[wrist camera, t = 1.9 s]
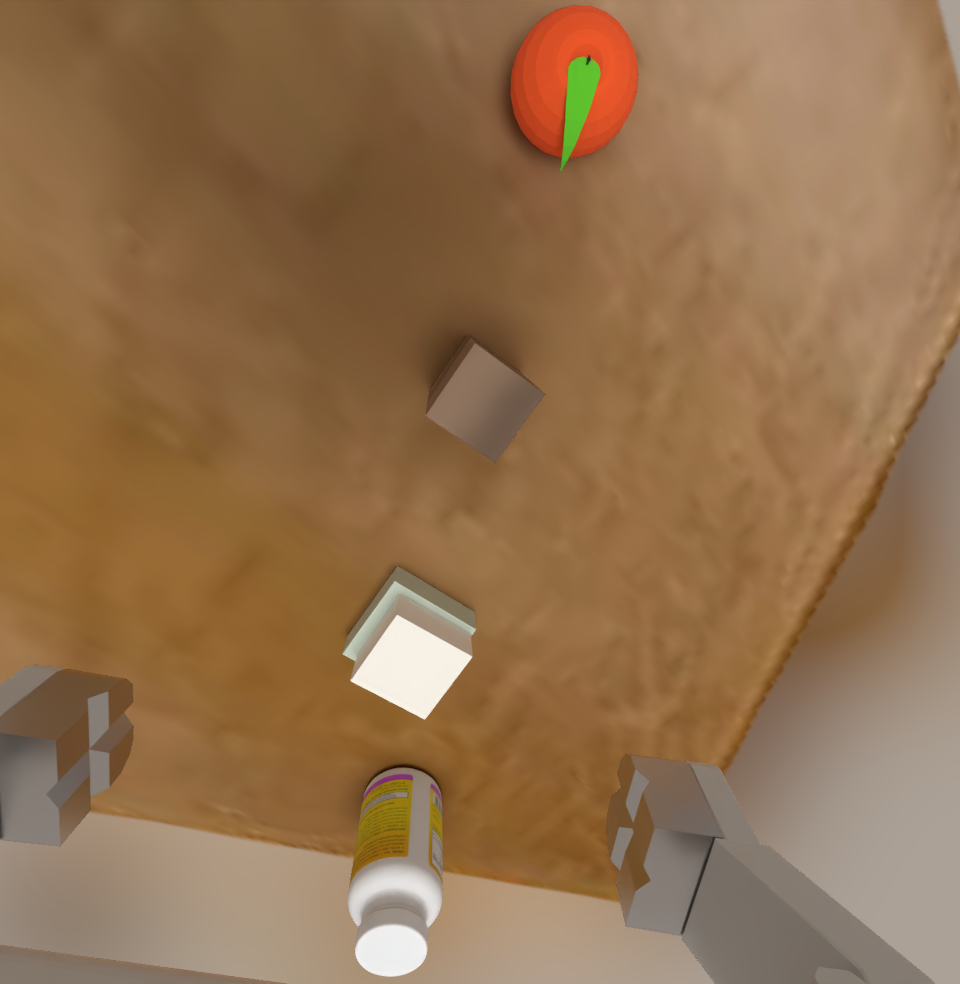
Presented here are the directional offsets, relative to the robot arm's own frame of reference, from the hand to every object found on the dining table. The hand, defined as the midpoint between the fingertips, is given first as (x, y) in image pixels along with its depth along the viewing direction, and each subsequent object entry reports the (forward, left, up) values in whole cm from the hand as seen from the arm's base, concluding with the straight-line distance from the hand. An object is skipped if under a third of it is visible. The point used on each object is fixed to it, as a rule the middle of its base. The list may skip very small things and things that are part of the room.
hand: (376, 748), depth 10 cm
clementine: (-3, +20, -33) cm, 39 cm away
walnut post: (+2, +4, -33) cm, 33 cm away
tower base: (+8, -14, -33) cm, 37 cm away
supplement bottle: (+17, -28, -33) cm, 47 cm away
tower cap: (+8, -14, -30) cm, 34 cm away
